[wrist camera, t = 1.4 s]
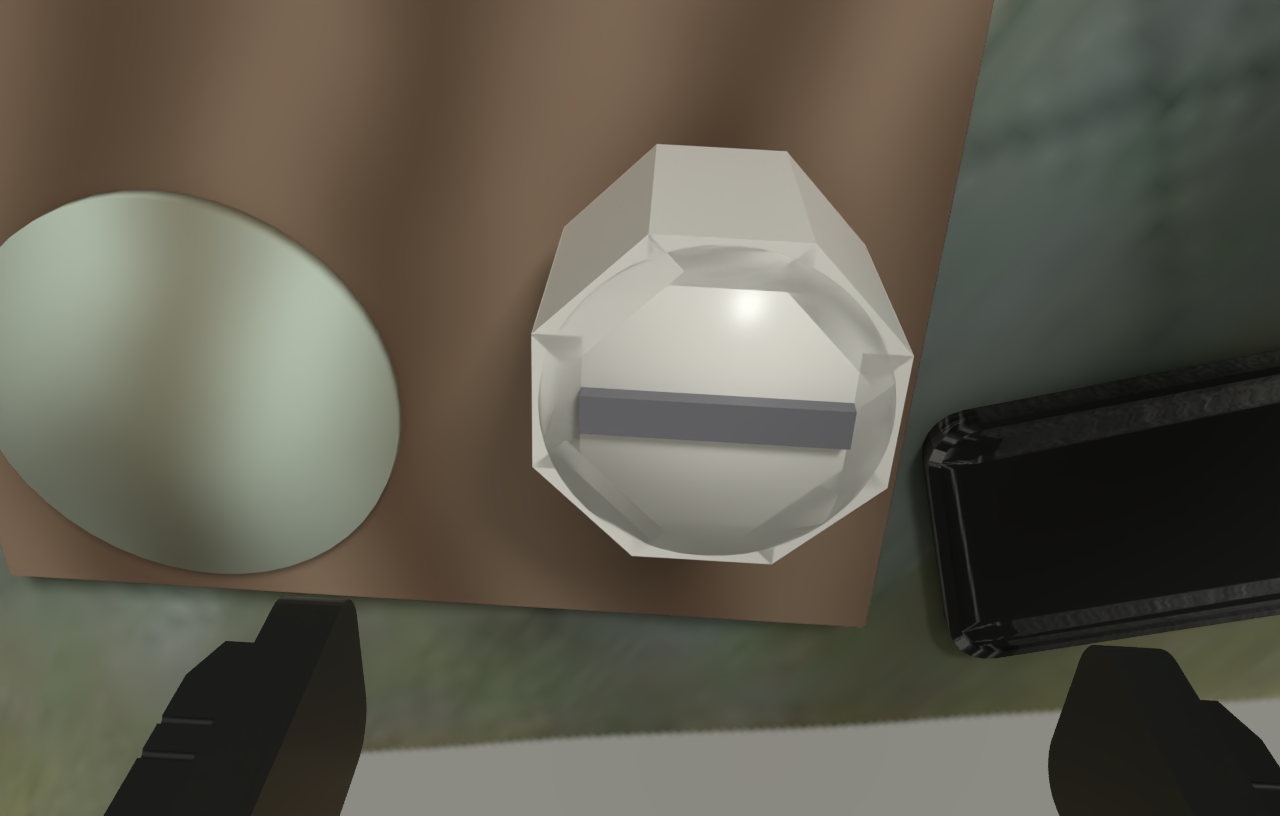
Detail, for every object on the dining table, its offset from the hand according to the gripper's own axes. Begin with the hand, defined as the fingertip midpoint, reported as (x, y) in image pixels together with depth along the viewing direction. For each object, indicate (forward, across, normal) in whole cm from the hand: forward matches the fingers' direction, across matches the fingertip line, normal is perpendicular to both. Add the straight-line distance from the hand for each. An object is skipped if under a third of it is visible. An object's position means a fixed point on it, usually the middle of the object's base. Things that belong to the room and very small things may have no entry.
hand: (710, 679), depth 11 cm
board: (+14, +6, +2) cm, 15 cm away
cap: (+11, 0, 0) cm, 11 cm away
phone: (+14, -14, +6) cm, 21 cm away
